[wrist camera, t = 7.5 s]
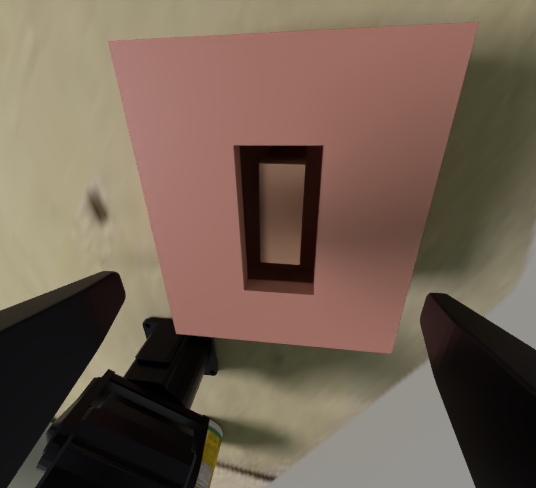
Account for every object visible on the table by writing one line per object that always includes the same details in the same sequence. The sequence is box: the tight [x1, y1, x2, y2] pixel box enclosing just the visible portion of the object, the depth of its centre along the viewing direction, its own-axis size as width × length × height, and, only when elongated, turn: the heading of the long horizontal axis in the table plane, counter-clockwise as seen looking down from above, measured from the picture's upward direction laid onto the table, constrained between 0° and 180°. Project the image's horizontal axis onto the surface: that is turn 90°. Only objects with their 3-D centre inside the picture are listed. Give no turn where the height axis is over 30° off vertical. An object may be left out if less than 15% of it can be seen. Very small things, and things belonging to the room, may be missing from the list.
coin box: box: [108, 22, 479, 354], centre depth 15 cm, size 14×12×7 cm
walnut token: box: [259, 146, 307, 265], centre depth 15 cm, size 5×2×5 cm, turn 0°
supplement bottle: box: [195, 420, 223, 488], centre depth 30 cm, size 5×5×10 cm
